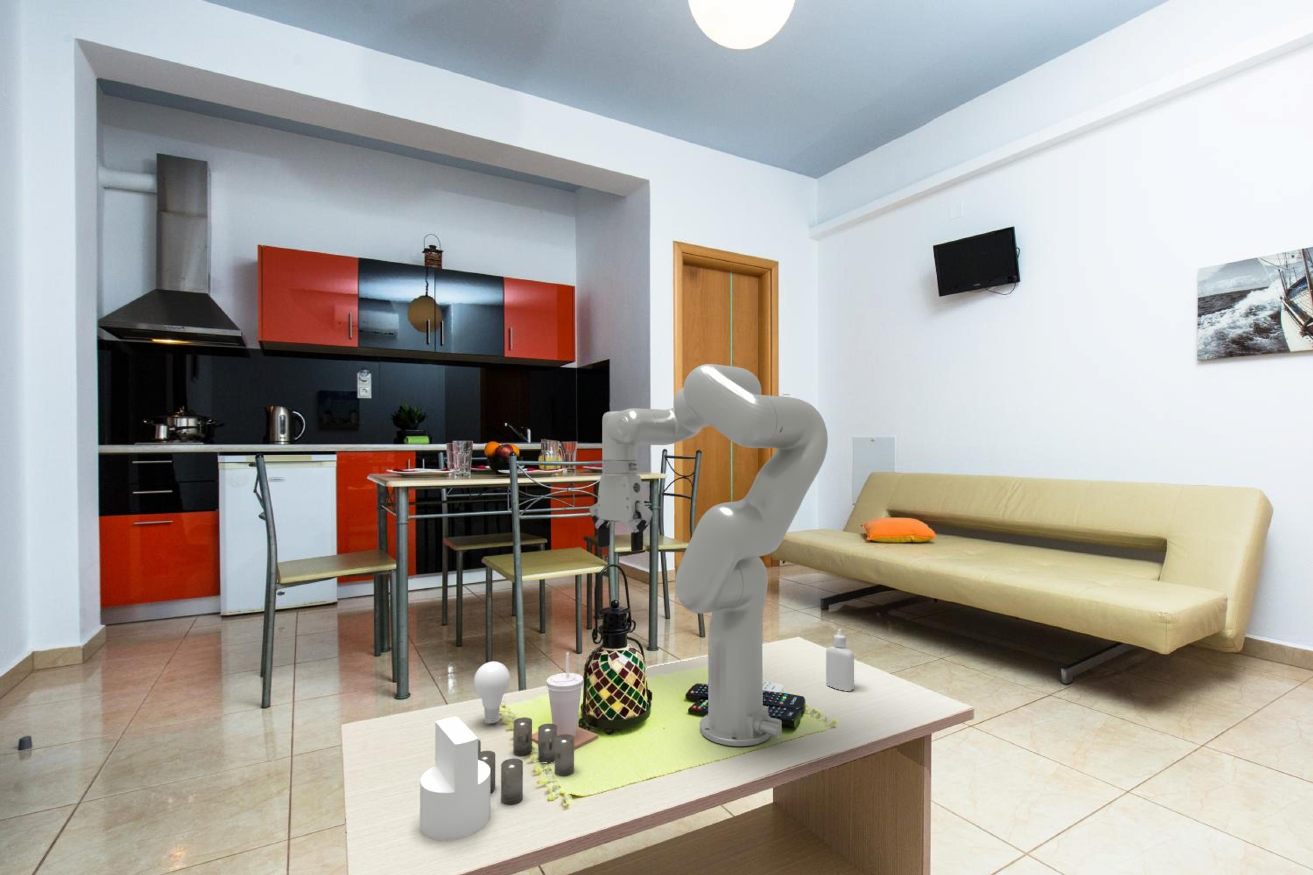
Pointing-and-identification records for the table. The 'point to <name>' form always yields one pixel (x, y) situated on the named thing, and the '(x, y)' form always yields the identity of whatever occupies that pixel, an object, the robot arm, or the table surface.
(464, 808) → the base with upright slab
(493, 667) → the lightbulb
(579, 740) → the tile
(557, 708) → the smoothie
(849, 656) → the eye dropper bottle
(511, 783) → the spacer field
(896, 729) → the table surface
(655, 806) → the table surface
